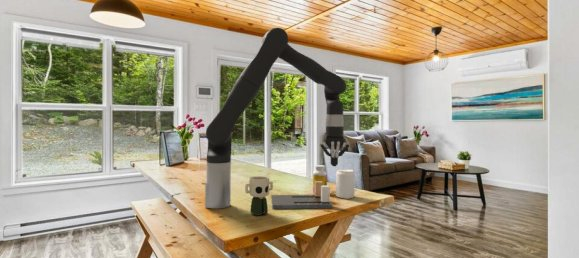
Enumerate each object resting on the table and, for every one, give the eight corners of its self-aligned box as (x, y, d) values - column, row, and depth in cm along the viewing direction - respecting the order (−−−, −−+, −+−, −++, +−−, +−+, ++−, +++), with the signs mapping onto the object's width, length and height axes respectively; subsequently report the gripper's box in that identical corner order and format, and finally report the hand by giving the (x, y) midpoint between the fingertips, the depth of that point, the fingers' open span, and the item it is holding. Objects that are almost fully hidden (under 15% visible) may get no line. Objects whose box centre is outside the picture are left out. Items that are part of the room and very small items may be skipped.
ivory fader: (322, 202, 119) (322, 186, 119) (320, 200, 121) (321, 185, 121) (329, 202, 119) (329, 186, 119) (328, 200, 122) (328, 185, 121)
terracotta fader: (315, 196, 128) (315, 182, 128) (314, 194, 130) (314, 181, 130) (322, 196, 128) (322, 182, 128) (321, 194, 131) (321, 181, 130)
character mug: (249, 218, 103) (249, 180, 103) (241, 213, 109) (241, 177, 109) (277, 214, 109) (277, 178, 109) (267, 209, 115) (268, 175, 115)
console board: (272, 209, 115) (272, 204, 115) (271, 198, 131) (271, 194, 131) (332, 208, 117) (332, 204, 117) (323, 197, 133) (323, 194, 133)
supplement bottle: (326, 195, 138) (326, 167, 138) (311, 194, 140) (312, 166, 139) (327, 191, 145) (327, 165, 145) (313, 190, 146) (314, 164, 146)
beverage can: (357, 196, 137) (357, 170, 136) (350, 200, 130) (350, 172, 129) (340, 193, 141) (340, 168, 141) (333, 197, 134) (333, 170, 134)
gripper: (320, 125, 125) (320, 167, 125) (352, 125, 126) (351, 167, 126) (317, 125, 132) (317, 164, 133) (347, 125, 133) (346, 164, 134)
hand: (334, 165), depth 129 cm, fingers closed
